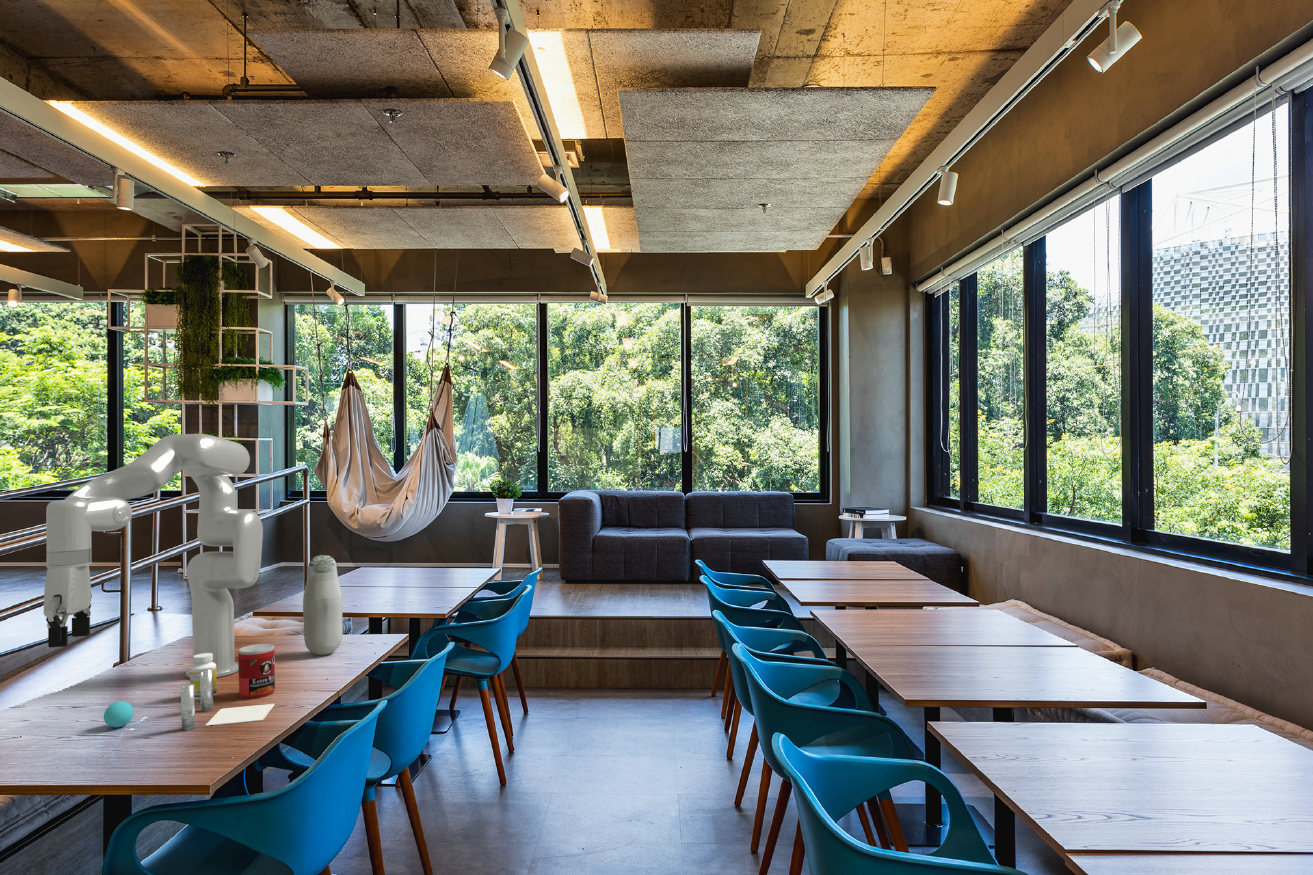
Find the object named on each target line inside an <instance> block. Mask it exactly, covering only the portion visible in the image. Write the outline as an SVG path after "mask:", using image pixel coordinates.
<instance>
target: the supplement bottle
mask: <svg viewBox="0 0 1313 875" xmlns="http://www.w3.org/2000/svg"><path fill="white" fill-rule="evenodd" d="M212 660H213V654H212V653H203V654H198V655H195V656H193V655H192V665H191V666H190V668H189V669H190V678H189V680H190V682H189V684H194V692H195V701H197V700H198V701H201V690H200V670H202V669H206V668H212V669H213V697H215V696H216V695H217V693H218V682H217V678H218V677H217V675H216V664H215V663H213V662H212ZM193 663H194V665H193Z"/></svg>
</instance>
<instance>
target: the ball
mask: <svg viewBox="0 0 1313 875" xmlns="http://www.w3.org/2000/svg"><path fill="white" fill-rule="evenodd" d="M134 710H135V709H134V707H133V705H132V704H130V703H129V702H128V701H127V702H126V701H121V700H120V701H115V702H113V703H112V704H110V705H108V707H107V708H106V709H105V711H104V713H103V720H104V723H105V724H106V725H107V726H108V727H110V728H122V727H124V726H126V725H127V724H129V723H130V722H131V721H132V719H133V717H134V713H135V712H134Z"/></svg>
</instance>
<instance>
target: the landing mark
mask: <svg viewBox="0 0 1313 875" xmlns="http://www.w3.org/2000/svg"><path fill="white" fill-rule="evenodd" d="M274 706H275V703H270V704H269V703H267V704H256V705H248V706H247V705H246V706H244V705H243V706H237V707H236V706H235V707H225V708H220V709H219V710H218V712H216V713H215V715H213V717H212V718H210V719H209V721H208V722H206V723H205V727H209V726H210V725H213V726H222V725H231V724H233V725H234V724H240V723H250V722H253V723H254V722H261V721H263V720H264V719H265V718H266V717H267V716H268V714H269V713H270V712H271V710H272V709H273V707H274ZM210 727H211V726H210Z"/></svg>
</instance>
